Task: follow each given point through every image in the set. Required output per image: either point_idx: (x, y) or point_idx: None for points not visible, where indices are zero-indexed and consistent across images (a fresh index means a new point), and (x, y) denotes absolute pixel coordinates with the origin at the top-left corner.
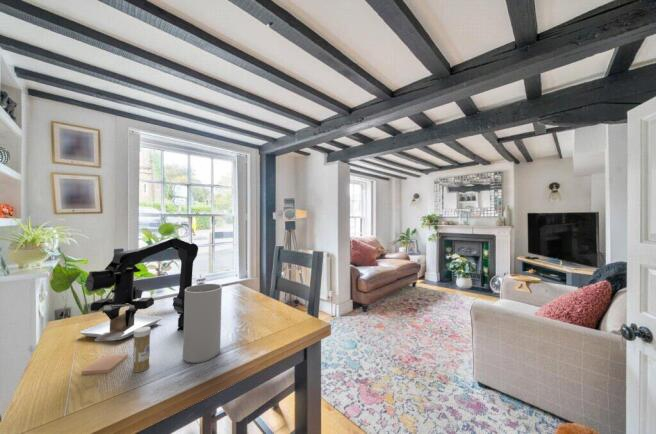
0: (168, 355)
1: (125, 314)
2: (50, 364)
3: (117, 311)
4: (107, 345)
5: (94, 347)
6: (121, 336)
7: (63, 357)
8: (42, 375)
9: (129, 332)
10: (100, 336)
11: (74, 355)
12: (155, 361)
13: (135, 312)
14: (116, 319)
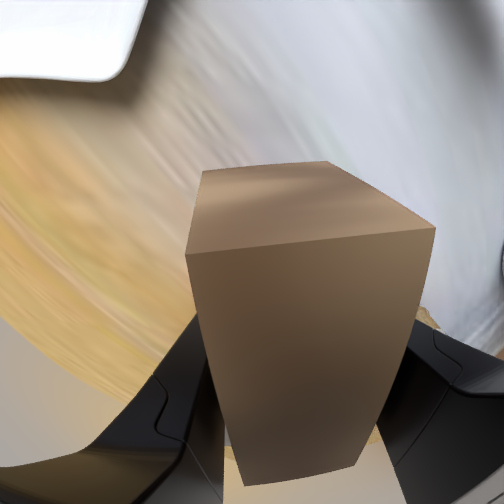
0: (467, 237)
1: (311, 365)
2: (19, 299)
3: (191, 488)
4: (79, 113)
5: (32, 146)
6: (125, 63)
7: (3, 250)
8: (78, 359)
9: (144, 1)
10: (225, 429)
11: (22, 232)
12: (437, 279)
13: (486, 362)
14: (294, 469)
